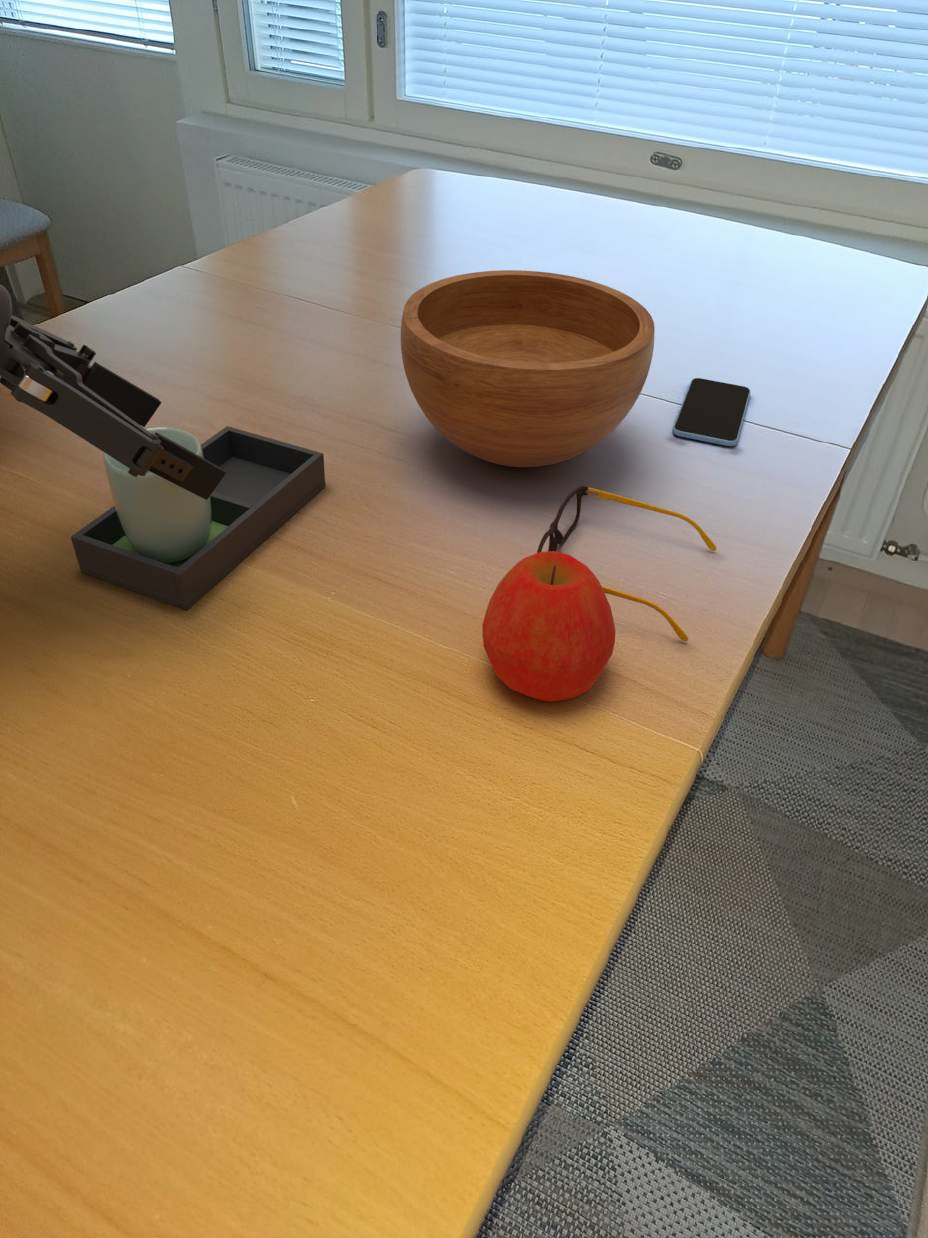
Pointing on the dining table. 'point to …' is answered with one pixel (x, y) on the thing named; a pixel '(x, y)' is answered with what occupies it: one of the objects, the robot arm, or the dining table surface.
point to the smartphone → (712, 412)
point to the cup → (160, 507)
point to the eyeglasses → (609, 496)
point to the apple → (549, 627)
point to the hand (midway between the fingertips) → (181, 447)
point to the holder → (241, 519)
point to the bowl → (525, 362)
